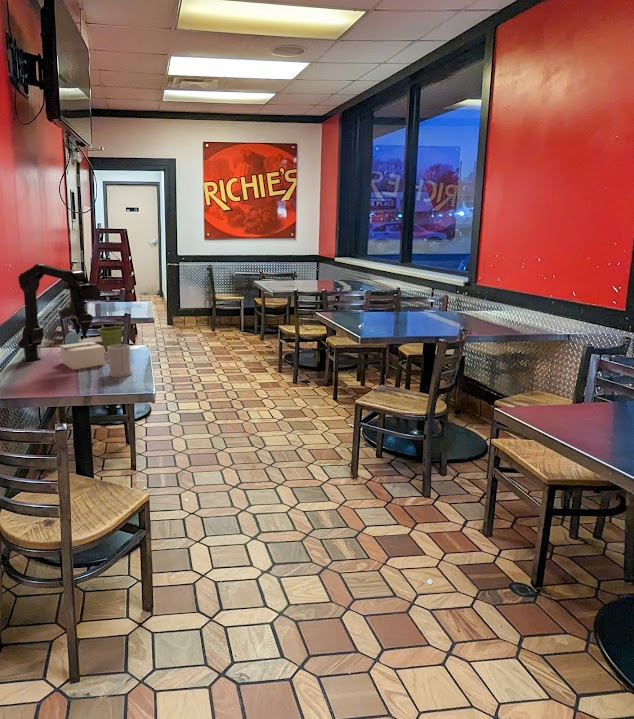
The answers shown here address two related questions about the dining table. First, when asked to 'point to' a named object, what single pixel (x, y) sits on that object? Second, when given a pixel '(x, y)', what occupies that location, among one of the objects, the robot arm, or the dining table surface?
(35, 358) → the robot arm
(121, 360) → the cup
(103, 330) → the plant pot
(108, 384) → the dining table surface
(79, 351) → the box
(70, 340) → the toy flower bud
